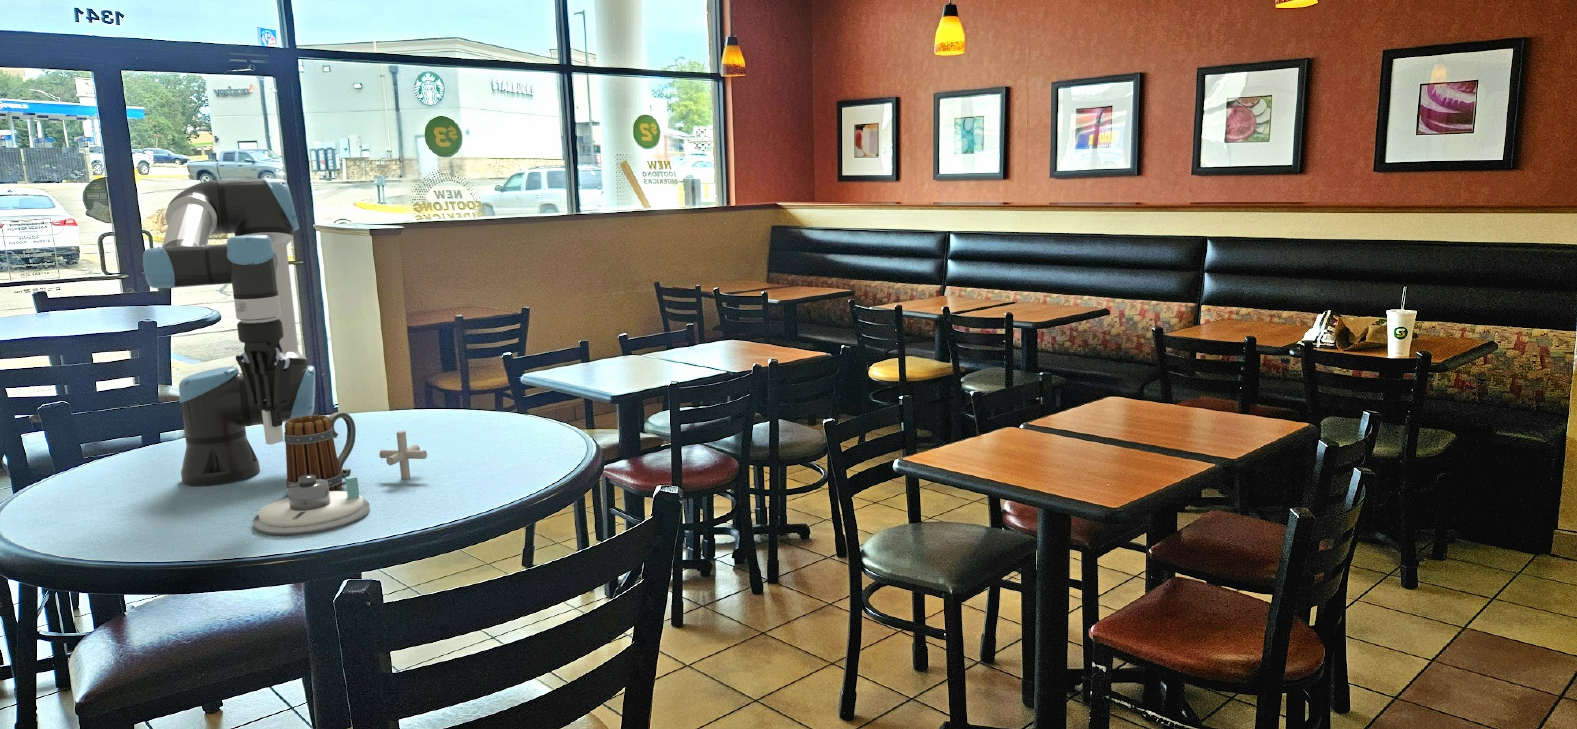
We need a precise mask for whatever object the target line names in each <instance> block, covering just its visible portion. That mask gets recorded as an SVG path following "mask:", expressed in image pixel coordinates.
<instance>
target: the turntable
mask: <svg viewBox="0 0 1577 729" xmlns="http://www.w3.org/2000/svg"><path fill="white" fill-rule="evenodd" d="M345 487H346V488H345V489H346V490H345V491H344V490H343V491H342V490H337V491H329V494H330V504H329V505H327V506H325V507H322V508H318V509H314V510H307V511H294V510H291V509H290V505H289V497H286V498H282V499H279V500H276V501H273V502H270V503H269V504H266V505H265V506H263V507H262V508H260V509H259V511H258V514H257V515H259V521H260V522H261V523H262V524H264V525H267V526H273V527H299V526H308V525H315V524H321V523H326V522H330V521H334V520H337V519H341V518H344V517H347V516H349V515H352V514H354V513H356V512H357V511H359V510H360V509H361V508H362V507H363V499H364V497H363V496H362V495H361V494H360V491H359V490H360V489H359V483H358V476H356V475H350V476H349V477H345Z"/></svg>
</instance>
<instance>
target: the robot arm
mask: <svg viewBox="0 0 1577 729" xmlns="http://www.w3.org/2000/svg"><path fill="white" fill-rule="evenodd" d="M297 217H298V216H297V214H296V209H295V206H294V202H293V198H292V195H291V191H290V187H289V184H288V183H287V181H286V180H284V179H280V178H266V177H262V178H246V179H244V178H242V179H224V180H218V179H216V180H215V179H214V180H212V179H211V180H207V181H202V182H199V183H197V184H194V185H192V186H190V187H188V188H185V189H184V190H182V191H181V192H179V193H178V194H177V195H175V196H174V197H173V199H171V200H170V202H169V203H168V205H167V208H166V211H165V222H166V225H167V228H166V231H165V235H164V238H163V242H162V246H157V247H154V248H153V247H152V248H147V249H145V250H144V252H143V253H142V263H143V264H142V265H143V272H144V277H145V281H146V284H147V285H148V286H149V287H150V288H152V289H171V290H172V289H174V288H188V287H189V288H190V287H200V286H202V287H203V286H212V285H214V286H216V285H217V286H219V285H230V284H231V285H232V286H231V288H232V292H233V294H232V295H233V300H234V308H235V309H234V310H235V318H236V319H237V320H239V321H238V323H237V324H236V327H237V335H238V340H239V342H240V343H243V344H244V347H243V352H242V353H241V354H238V355H235V361H236V363H237V364H238V366H239V367H240V370H239V369H238V367H237V366H233V365H232V366H222V367H217V368H212V369H208V370H205V371H200V372H196V373H194V374H190V375H188V376H186V377H184V378H183V379H182V380H180V382H179V384H178V392H179V393H178V394H179V399H178V401H179V402H178V403H180V408H181V415H182V422H183V431H184V438H185V444H186V446H185V452H184V457H183V461H182V462H183V463H182V467H181V470H180V477H181V482H182V484H183V485H186V486H196V487H197V486H199V487H201V486H203V487H204V486H213V485H214V486H215V485H223V484H228V483H234V482H238V481H242V480H245V479H249V478H251V477H254V476H255V475H257V474H259V473H260V471H261V468H260V461H259V459H258V457H257V455H256V453H255V451H254V449H253V447H252V445H251V443H250V442H249V440H248V436H247V430H246V427H248V426H249V427H250V426H260V425H262V426H263V429H264V439H265V445H272V446H273V445H275V444H279V443H282V442H285V439H284V434H283V423H286V421H287V420H289V419H293V418H295V417H300V418H302V416H308V415H309V416H310V417H311V416H312V415H314V412H315V411H314V410H315V399H316V398H315V396H316V368H315V366H314V365H310V364H309V365H308V358H307V357H306V356H305V355H303V354H302V353H300V351H299V345H298V344H299V342H298V334H297V329H296V328H297V325H296V316H295V310H294V309H295V307H294V301H293V300H294V299H293V292H292V289H293V288H292V283H291V274H290V273H291V272H290V265H289V264H290V263H289V255H288V245H289V244H290V242H292V241H293V239H294V232H296V231H298V230H299V229H300V225H299V222H298V218H297ZM220 234H221V235H222V234H225V235H226V234H234V236H231V237H229V238H228V239H227V240H226V243H225V244H223V243H222V244H208V243H209V238H210V235H220ZM240 371H241V372H240Z"/></svg>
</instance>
